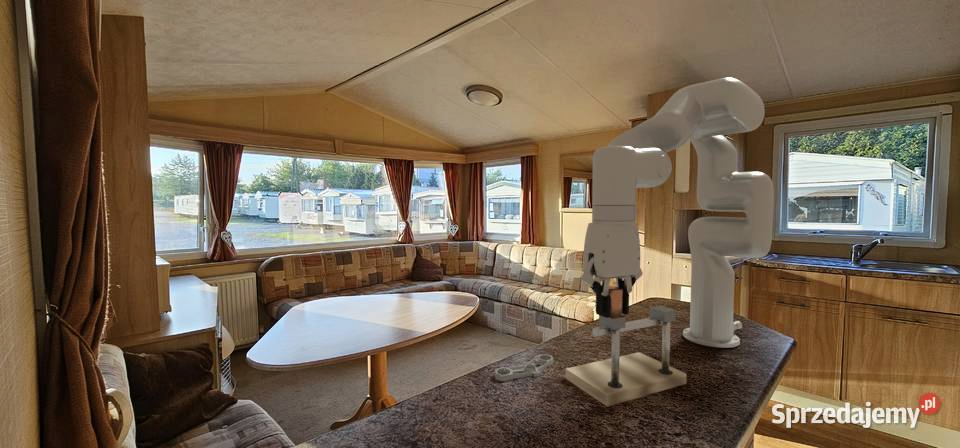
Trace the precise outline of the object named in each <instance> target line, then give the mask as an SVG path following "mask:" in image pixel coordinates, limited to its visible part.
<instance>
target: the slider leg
mask: <svg viewBox="0 0 960 448" xmlns="http://www.w3.org/2000/svg"><path fill="white" fill-rule="evenodd" d="M608 295H609V296H610V297H611V316H610V317H609V318H606V317H603V316H600V315H598V324H599V325H601V326H605V327H607V328H610V329H612V334H611V357H610V359H611V383H612V384H614V385H618V384H619V358H620V352H621V351H620V350H621V347H620V346H621V344H620V342H621V332H620V328H625V322H627V320H626V315H624V314H623V289H622V288H620V287H616V286H612V285H609V291H608Z"/></svg>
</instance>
